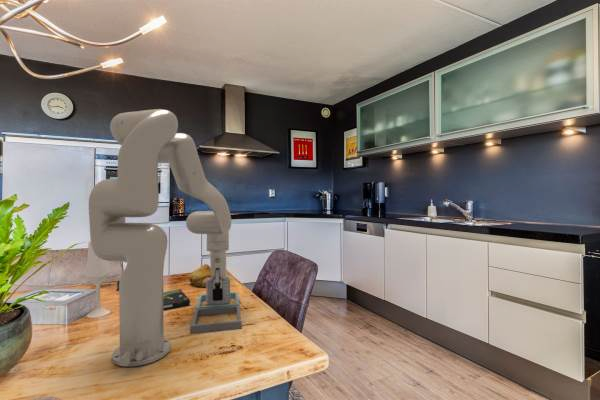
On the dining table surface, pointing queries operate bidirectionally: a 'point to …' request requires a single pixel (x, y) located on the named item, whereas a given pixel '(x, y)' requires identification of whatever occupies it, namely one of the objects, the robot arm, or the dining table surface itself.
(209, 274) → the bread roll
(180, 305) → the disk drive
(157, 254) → the robot arm
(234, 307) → the dock
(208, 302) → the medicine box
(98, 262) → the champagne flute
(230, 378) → the dining table surface
